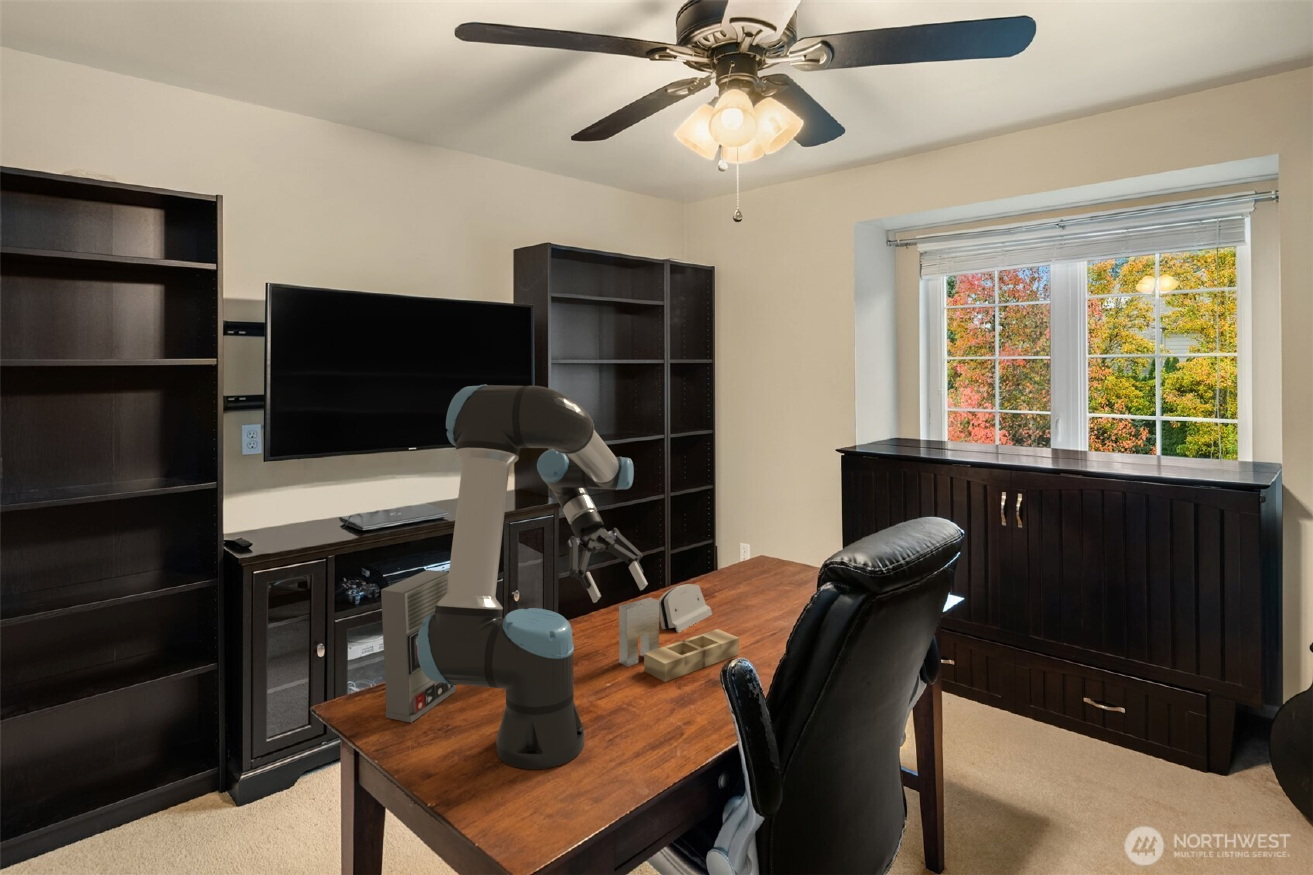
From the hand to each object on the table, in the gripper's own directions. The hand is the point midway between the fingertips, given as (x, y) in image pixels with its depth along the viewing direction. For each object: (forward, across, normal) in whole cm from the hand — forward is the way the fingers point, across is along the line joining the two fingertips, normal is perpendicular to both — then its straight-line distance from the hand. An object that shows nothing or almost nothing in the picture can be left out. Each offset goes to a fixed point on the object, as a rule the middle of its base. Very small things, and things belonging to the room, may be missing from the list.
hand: (621, 593), depth 169 cm
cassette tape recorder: (+8, +47, -11) cm, 49 cm away
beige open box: (+21, -7, +3) cm, 22 cm away
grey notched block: (+15, +1, -4) cm, 15 cm away
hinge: (+7, -23, -12) cm, 27 cm away
